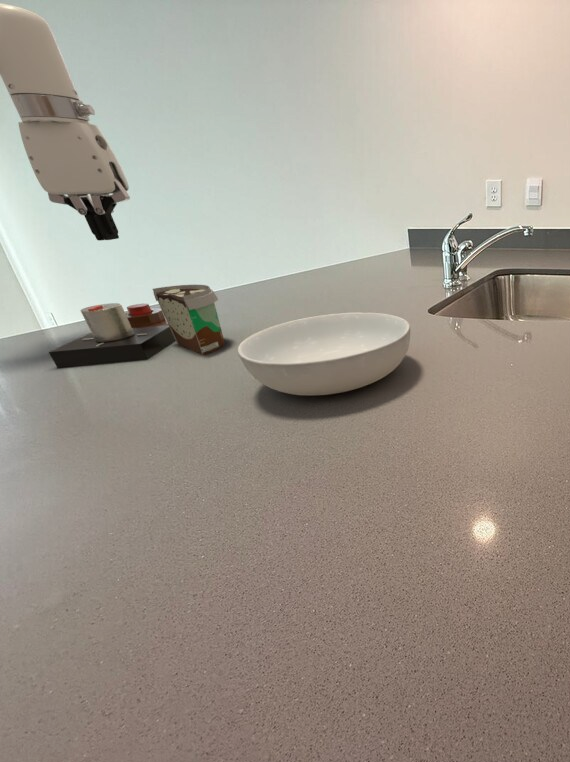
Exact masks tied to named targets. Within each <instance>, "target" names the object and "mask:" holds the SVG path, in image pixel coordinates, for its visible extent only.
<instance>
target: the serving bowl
mask: <svg viewBox="0 0 570 762" xmlns="http://www.w3.org/2000/svg"><path fill="white" fill-rule="evenodd" d="M410 341H411V325H410V323H409V321H407V320H406V319H404V318H402V317H400V316H397V315H394V314H388V313H381V312H379V313H378V312H339V313H329V314H322V315H316V316H315V315H314V316H309V317H303V318H298V319H295V320H290V321H285V322H282V323H278V324H276V325H275V324H274V325H272V326H270V327H268V328H264V329H262V330H260V331H257V332H255V333H253V334H251V335H249V336H248V337H247V338H245V339H243V340H242V342H240V344H239V345H238V347H237V355H238V357H239V359H240V361H241V362H242V364H243V365H244V367H245V369H246V370H247V372H248V373H249V374H250V375H251V376H252V377H253V378H254V379H255V380H256V381H258V382H259V383H260V384H262V385H264V386H265V387H267V388H269V389H272V390H273V391H274V390H275V391H276V392H280V393H285V394H288V395H293V396H294V395H295V396H328V395H335V394H340V393H341V394H342V393H346V392H350V391H354V390H357V389H360V388H363V387H366V386H368V385H371V384H373V383H376V382H378V381H379V380H382V379H383V378H385V377H386V376H388V375H389V374H391V373H392V372H393V371H395V370H396V369H397V367H399V365H400V364H401V363H402V362H403V360H404V359H405V357H406V355H407V353H408V350H409V347H410Z"/></svg>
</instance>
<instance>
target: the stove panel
mask: <svg viewBox="0 0 570 762" xmlns="http://www.w3.org/2000/svg"><path fill="white" fill-rule="evenodd" d="M132 329H133V331H134V335H132V336H130V337H128V338H124V339H120V340H116V341H109V342H97V341H95V339H94V337H93V335H92V333H91V332H90V333H87V334H85V335H83V336H80V337H79V338H76V339H74V340H72V341H70V342H67V343H65V344H63V345H61V346H59V347H57V348H55V349H53V350H50V351H48V354H49V356H50V357H51V359H52V361H53V363H54V365H55V366H56V368H57V369H64V368H76V367H86V366H87V367H88V366H96V365H105V364H107V365H108V364H116V363H117V364H118V363H125V362H126V363H127V362H135V361H136V362H138V361H146V360H149V359H151V358H152V357H154V356H156V355H157V354H159V353H160V352H161V351H163V350H165V349H166V348H167V347H169V346H171V345H172V344H174V343H176V340H175V338H174V336H173V334H172V332H171V329H170V327H169V325H167V326H155V327H143V328H132Z"/></svg>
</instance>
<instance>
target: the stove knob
mask: <svg viewBox="0 0 570 762" xmlns="http://www.w3.org/2000/svg"><path fill="white" fill-rule="evenodd" d="M80 313H81V315H82V317H83V319H84V321H85V323H86V325H87V327H88V329H89V331H90V333H92V335H93V337H94V339H95V341H97V342H109V341H116V340H120V339H124V338H128V337H130V336H132V335H134V331H133V329H132V327H131V325H130V323H129V320H128V318H127V316H126V314H125V313H126V312H125V309H124V307H123V305H122V303H118V302H113V303H112V302H111V303H101V304H95V305H91V306H86V307H83V308H81V309H80Z"/></svg>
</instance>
